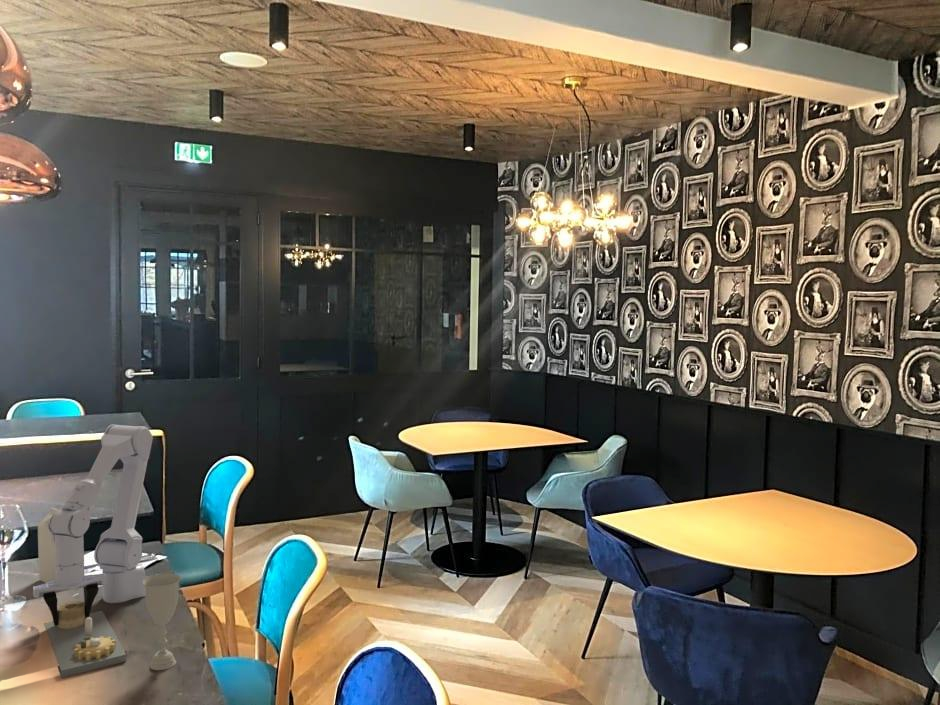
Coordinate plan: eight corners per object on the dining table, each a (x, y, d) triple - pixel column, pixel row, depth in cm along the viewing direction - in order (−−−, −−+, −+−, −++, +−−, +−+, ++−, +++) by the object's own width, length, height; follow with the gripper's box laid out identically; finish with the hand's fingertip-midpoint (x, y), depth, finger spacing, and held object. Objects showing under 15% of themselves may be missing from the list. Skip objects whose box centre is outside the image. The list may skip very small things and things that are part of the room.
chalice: (145, 675, 150) (143, 588, 148) (142, 660, 156) (141, 577, 154) (183, 667, 153) (182, 582, 152) (180, 653, 159) (178, 571, 158)
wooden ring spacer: (82, 616, 173) (82, 599, 173) (87, 624, 168) (86, 607, 168) (55, 621, 170) (55, 604, 169) (59, 631, 165) (58, 613, 165)
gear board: (102, 616, 176) (101, 591, 176) (126, 661, 155) (125, 633, 155) (44, 629, 169) (43, 603, 169) (61, 677, 148) (60, 648, 148)
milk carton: (66, 572, 203) (64, 504, 202) (79, 578, 199) (77, 509, 198) (38, 580, 198) (36, 510, 196) (51, 586, 194) (49, 515, 192)
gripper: (35, 574, 160) (36, 635, 161) (108, 561, 169) (109, 618, 170) (31, 564, 166) (33, 623, 167) (102, 552, 175) (103, 608, 176)
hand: (71, 620), depth 169 cm, fingers closed on wooden ring spacer, 6 cm apart
